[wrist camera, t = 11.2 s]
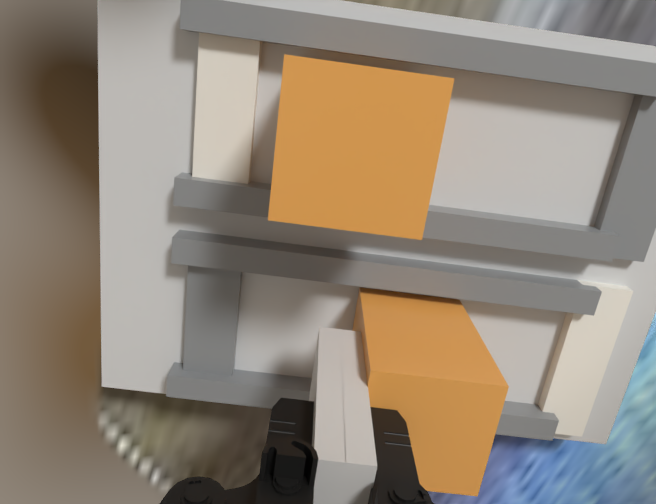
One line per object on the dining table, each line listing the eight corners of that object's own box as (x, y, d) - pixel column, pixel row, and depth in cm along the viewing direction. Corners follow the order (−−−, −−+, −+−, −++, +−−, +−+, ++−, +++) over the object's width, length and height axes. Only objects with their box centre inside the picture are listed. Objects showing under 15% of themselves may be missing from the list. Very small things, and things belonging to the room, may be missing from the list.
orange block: (415, 76, 18) (454, 78, 12) (394, 190, 19) (422, 240, 13) (298, 59, 18) (284, 54, 12) (286, 175, 19) (267, 220, 13)
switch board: (708, 61, 20) (773, 59, 17) (584, 415, 25) (617, 460, 22) (120, -25, 19) (82, -42, 16) (119, 361, 24) (91, 400, 21)
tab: (459, 299, 21) (508, 386, 15) (439, 386, 22) (477, 496, 16) (359, 287, 20) (370, 370, 15) (344, 375, 22) (350, 482, 16)
